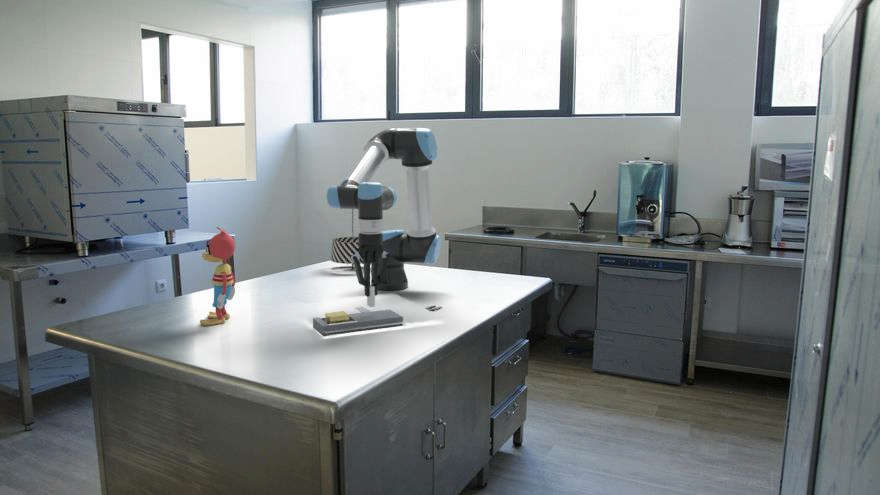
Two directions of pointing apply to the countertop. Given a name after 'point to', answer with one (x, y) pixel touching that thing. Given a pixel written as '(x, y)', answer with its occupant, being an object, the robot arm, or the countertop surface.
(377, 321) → the rail board
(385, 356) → the countertop surface
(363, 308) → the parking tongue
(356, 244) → the pendant light
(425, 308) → the pliers
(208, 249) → the toy
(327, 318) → the block
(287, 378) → the countertop surface
